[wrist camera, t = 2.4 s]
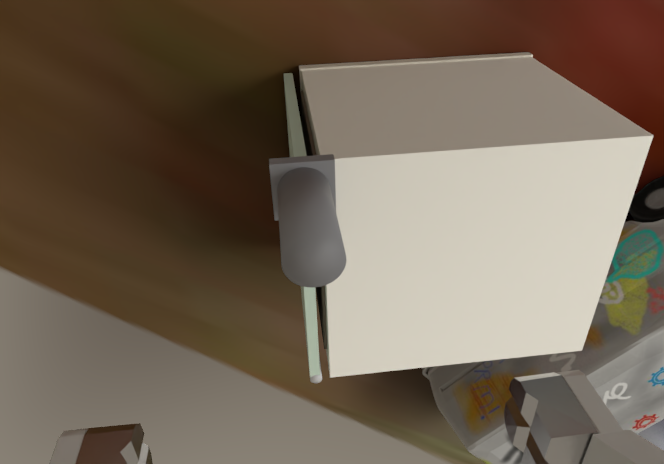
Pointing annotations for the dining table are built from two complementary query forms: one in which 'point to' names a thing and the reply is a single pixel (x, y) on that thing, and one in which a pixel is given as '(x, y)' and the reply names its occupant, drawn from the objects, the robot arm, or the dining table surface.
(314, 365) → the end flap
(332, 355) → the carton
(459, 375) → the toy car
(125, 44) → the dining table surface
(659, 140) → the dining table surface
